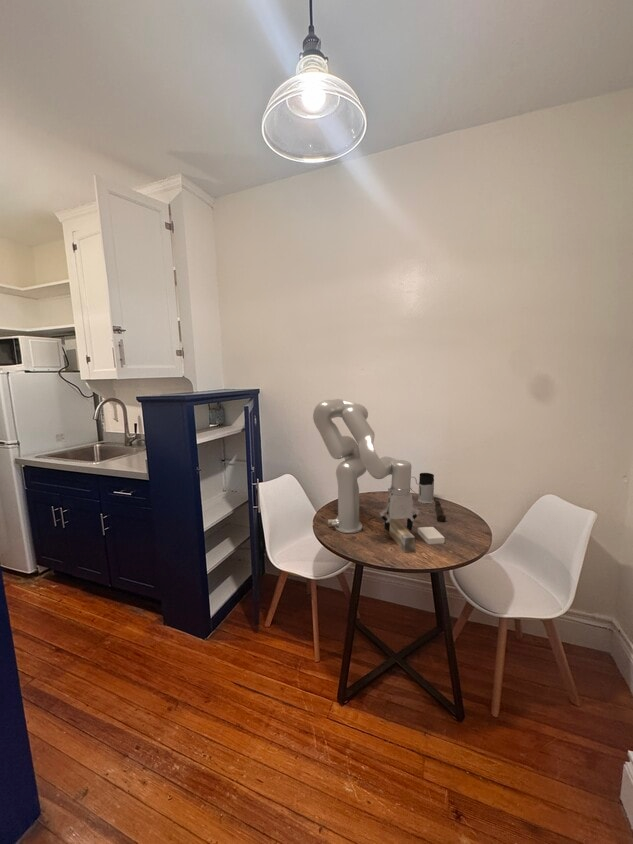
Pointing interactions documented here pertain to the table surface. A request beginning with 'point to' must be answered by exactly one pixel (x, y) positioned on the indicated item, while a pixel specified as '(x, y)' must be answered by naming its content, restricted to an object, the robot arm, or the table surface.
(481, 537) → the table surface
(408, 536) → the grey-capped beige stick
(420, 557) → the table surface
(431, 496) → the glass holder
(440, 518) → the hand tool
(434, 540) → the white and teal block
